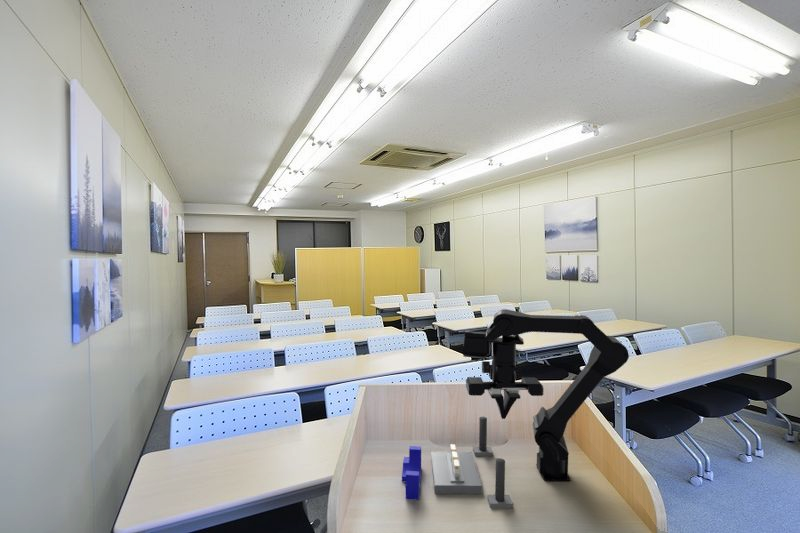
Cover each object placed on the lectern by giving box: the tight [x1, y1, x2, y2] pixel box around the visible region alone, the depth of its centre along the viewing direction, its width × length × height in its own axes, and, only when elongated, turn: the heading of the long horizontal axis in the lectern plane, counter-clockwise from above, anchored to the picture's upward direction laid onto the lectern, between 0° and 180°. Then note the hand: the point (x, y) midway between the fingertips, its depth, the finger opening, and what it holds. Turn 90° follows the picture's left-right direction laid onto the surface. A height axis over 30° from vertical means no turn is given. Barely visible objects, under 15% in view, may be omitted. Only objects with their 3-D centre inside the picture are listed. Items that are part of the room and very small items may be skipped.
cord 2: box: [486, 457, 514, 509], centre depth 85 cm, size 5×3×10 cm, turn 89°
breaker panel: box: [430, 451, 483, 495], centre depth 96 cm, size 11×14×2 cm
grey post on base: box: [472, 416, 494, 457], centre depth 105 cm, size 5×3×10 cm, turn 89°
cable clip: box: [401, 445, 422, 500], centre depth 93 cm, size 12×4×6 cm, turn 174°
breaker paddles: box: [449, 443, 460, 478], centre depth 96 cm, size 1×10×3 cm, turn 179°
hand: (503, 418), depth 98 cm, fingers closed
